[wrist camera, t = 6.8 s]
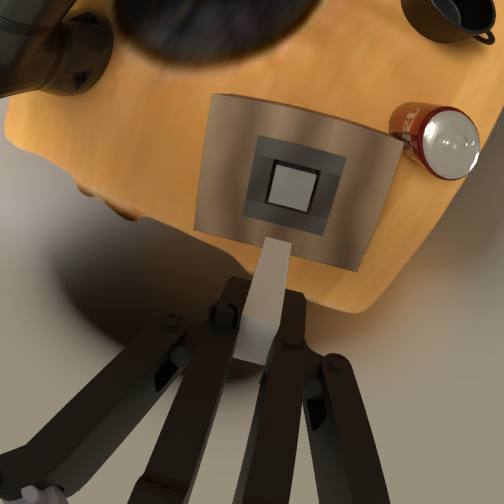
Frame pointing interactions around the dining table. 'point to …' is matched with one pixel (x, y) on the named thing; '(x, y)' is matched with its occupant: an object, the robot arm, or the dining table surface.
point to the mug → (451, 19)
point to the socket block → (301, 153)
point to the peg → (292, 185)
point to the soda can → (437, 138)
